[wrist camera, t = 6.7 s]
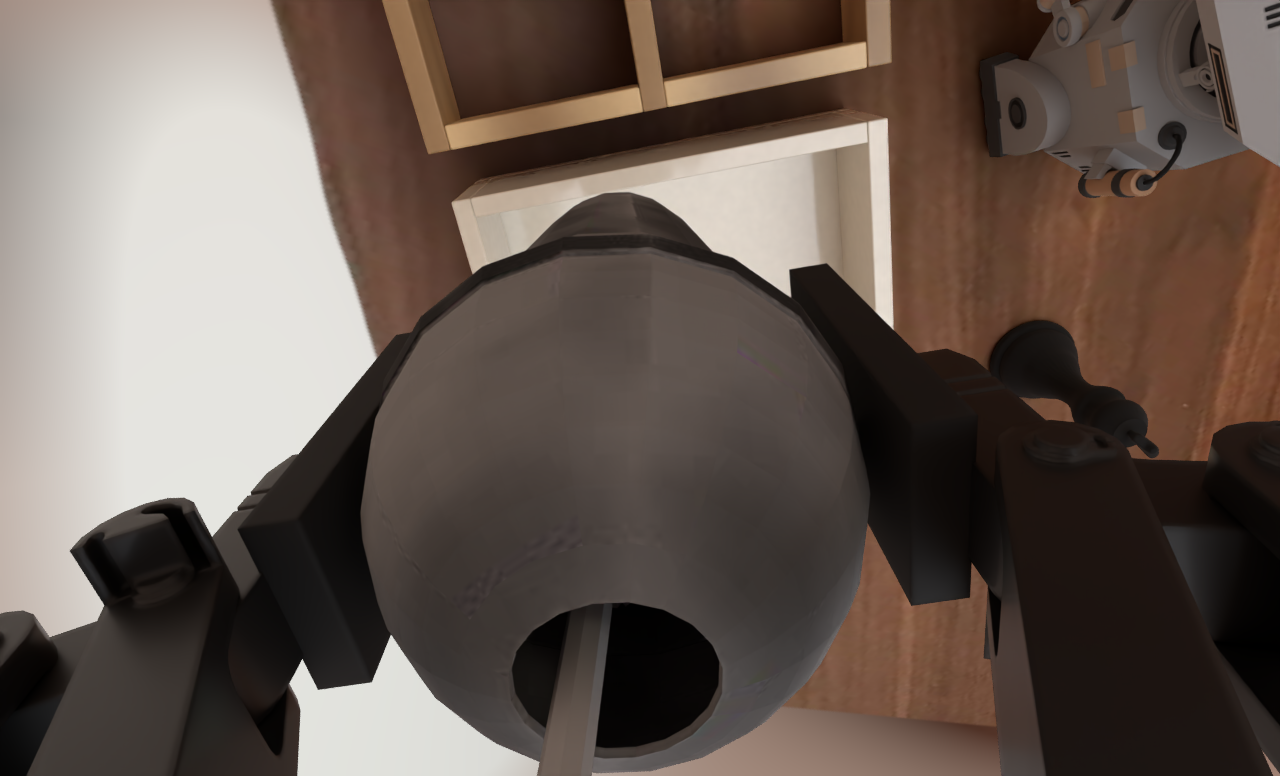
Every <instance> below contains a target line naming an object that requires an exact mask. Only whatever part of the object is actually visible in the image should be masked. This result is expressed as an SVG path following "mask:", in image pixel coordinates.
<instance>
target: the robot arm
mask: <svg viewBox="0 0 1280 776" xmlns="http://www.w3.org/2000/svg"><path fill="white" fill-rule="evenodd" d="M789 276H790V289H791V298H792V299H794V300H795V301H796V302H798V303H799V304H800V305H801V307H802V308H803V309H804V311H805V312H806V314H807V315H808V316H809V318H810V319H811V321H812V322H813V323H814V325H815V326H816V328H817V329H818V331H819V332H820V333H821V335H822V336H823V338H824V339H825V340H826V342H827V343H828V345H829V346H830V348H831V349H832V350H833V352H834V353H835V355H836V356H837V357H838V359H839V360H840V362H841V363H842V365H843V369H844V373H845V377H846V381H847V385H848V389H849V393H850V397H851V401H852V404H853V408H854V412H855V416H856V420H857V424H858V428H859V434H860V443H861V445H860V446H861V449H862V453H863V457H864V461H865V465H866V470H867V476H868V482H869V488H870V502H869V513H868V524H869V526H870V528H871V530H872V532H873V534H874V536H875V537H876V539H877V541H878V543H879V545H880V547H881V549H882V551H883V553H884V554H885V556H886V558H887V560H888V562H889V564H890V566H891V568H892V570H893V572H894V573H895V575H896V577H897V579H898V581H899V583H900V585H901V587H902V589H903V591H904V592H905V594H906V596H907V598H908V600H909V602H910V604H911V606H913V605H920V604H927V603H935V602H942V601H949V600H956V599H963V598H970V584H971V562H972V563H973V565H974V566H975V568H976V569H977V570H978V572H979V573H980V575H981V576H982V578H983V579H984V581H985V582H986V583H987V585H988V594H987V611H986V628H985V645H984V658H985V659H991V669H992V680H993V690H994V701H995V712H996V722H997V733H998V743H999V753H1000V765H1001V775H1002V776H1273V774H1272V772H1271V770H1270V768H1269V765H1268V763H1267V761H1266V759H1265V756H1264V754H1263V752H1264V753H1265V754H1266V756H1267V757H1268V758H1269V760H1270V761H1271V762H1272V764H1273V765H1274V766H1275V768H1276V769H1277V770H1278V772H1279V773H1280V421H1270V422H1245V423H1240V424H1234V425H1229V426H1226V427H1224V428H1223V429H1221V430H1219V431H1218V432H1216V433H1214V435H1213V439H1212V443H1211V448H1210V453H1209V457H1208V461H1178V460H1147V459H1135V458H1131V455H1130V453H1129V451H1128V450H1127V448H1126V447H1125V446H1124V445H1123V444H1122V443H1121V442H1120V441H1119V439H1117V438H1116V437H1114V436H1112V435H1110V434H1108V433H1106V432H1104V431H1102V430H1100V429H1098V428H1094V427H1090V426H1087V425H1083V424H1080V423H1075V422H1066V421H1056V420H1045V419H1044V418H1043V417H1041V416H1040V415H1039V414H1038V413H1037V412H1036V411H1034V410H1033V409H1032V408H1031V407H1030V406H1029V405H1027V404H1026V403H1025V402H1024V401H1023V400H1022V399H1020V398H1019V397H1018V396H1017V395H1016V394H1015V393H1013V392H1012V391H1011V390H1010V389H1006V388H1005V385H1004V384H1003V383H1002V382H1001V381H999V380H998V379H997V378H996V377H995V376H993V377H992V376H991V373H990V372H989V371H988V370H986V369H985V368H984V367H983V366H982V365H981V364H979V363H978V362H977V361H976V360H975V359H973V358H970V357H968V356H965V355H962V354H960V353H957V352H954V351H952V350H949V349H942V350H935V351H929V352H923V353H916V352H915V351H914V350H913V349H912V348H911V347H910V346H909V345H908V344H907V343H906V342H905V341H904V340H903V339H902V338H901V337H900V336H899V335H898V334H897V333H896V332H895V331H894V330H893V329H892V328H891V327H890V326H889V325H888V324H887V323H886V322H885V321H884V320H883V319H882V318H881V317H880V316H879V315H878V314H877V313H876V312H875V311H874V310H873V309H872V308H871V307H870V306H869V305H868V304H867V303H866V302H865V301H864V300H863V299H862V298H861V297H860V296H859V295H858V294H857V293H856V292H855V291H854V290H853V289H852V288H851V287H850V286H849V285H848V284H847V283H846V282H845V281H844V280H843V279H842V278H841V277H840V276H839V275H838V274H837V273H836V272H835V271H834V270H833V269H832V268H831V267H830V266H829V265H828V264H827V263H825V264H819V265H813V266H807V267H801V268H795V269H789ZM411 333H412V332H411ZM411 333H405V334H399V335H396V336H395V337H394V338H393V340H392V341H391V342H390V343H389V345H388V346H387V347H386V348H385V349H384V351H383V352H382V353H381V354H380V356H379V357H378V358H377V359H376V360H375V362H374V363H373V364H372V365H371V367H370V368H369V369H368V370H367V371H366V373H365V374H364V375H363V376H362V377H361V379H360V380H359V381H358V382H357V384H356V385H355V386H354V387H353V388H352V390H351V391H350V392H349V393H348V395H347V396H346V397H345V398H344V400H343V401H342V402H341V403H340V404H339V406H338V407H337V408H336V409H335V411H334V412H333V413H332V414H331V415H330V416H329V418H328V419H327V420H326V421H325V423H324V424H323V425H322V426H321V427H320V429H319V430H318V431H317V432H316V434H315V435H314V436H313V437H312V438H311V440H310V441H309V442H308V443H307V445H306V446H305V447H304V448H303V449H302V451H301V452H300V453H299V454H297V455H292V456H291V457H289V458H288V459H286V460H285V461H284V462H282V463H281V464H279V465H278V466H277V467H275V468H274V469H272V470H271V471H270V472H268V473H267V474H266V475H265V476H264V477H263V479H262V480H261V481H260V482H259V483H258V484H257V486H256V487H255V488H254V489H253V490H252V491H251V496H247V497H246V498H245V499H244V501H243V502H242V503H241V504H240V505H239V506H238V511H235V512H233V513H232V515H231V516H230V517H229V518H228V519H227V520H226V522H225V523H224V524H223V525H222V526H221V527H220V529H219V530H218V531H217V532H216V533H215V534H214V536H213V537H212V536H211V534H210V533H209V531H208V529H207V527H206V525H205V523H204V522H203V519H202V517H201V515H200V514H199V512H198V510H197V508H196V506H195V504H194V502H192V501H190V500H187V499H185V498H167V499H163V500H158V501H155V502H150V503H146V504H143V505H141V506H138V507H136V508H133V509H131V510H128V511H125V512H123V513H121V514H119V515H117V516H115V517H113V518H111V519H110V520H107V521H106V522H104V523H102V524H100V525H99V526H97V527H96V528H94V529H93V530H92V531H90V532H89V533H87V534H86V535H85V536H84V537H82V538H81V539H80V540H79V541H78V542H77V543H76V544H75V545H74V547H73V548H72V549H71V550H70V552H71V553H72V555H73V557H74V558H75V560H76V561H77V563H78V565H79V566H80V568H81V569H82V571H83V572H84V574H85V575H86V577H87V578H88V580H89V582H90V583H91V585H92V586H93V588H94V590H95V591H96V593H97V594H98V596H99V597H100V599H101V600H102V602H103V604H104V607H103V610H102V612H101V614H100V616H99V618H98V621H97V622H93V623H91V624H88V625H85V626H82V627H79V628H76V629H73V630H70V631H67V632H64V633H61V634H58V635H55V636H52V637H49V636H48V635H47V633H46V631H45V630H44V629H43V627H42V626H41V625H40V623H39V622H38V620H37V619H36V617H35V616H34V615H33V614H31V613H28V612H25V611H15V612H6V613H2V614H0V776H297V769H298V747H299V746H298V745H299V727H300V707H299V704H298V700H297V698H296V696H295V694H294V692H293V690H292V688H291V686H290V684H289V683H290V681H291V679H292V677H293V675H294V673H295V672H296V670H297V668H298V666H299V664H300V662H301V660H302V659H303V661H304V663H305V665H306V667H307V669H308V671H309V673H310V675H311V677H312V678H313V680H314V683H315V684H316V686H317V688H318V690H320V689H327V688H334V687H341V686H348V685H355V684H362V683H370V682H372V680H373V678H374V675H375V673H376V670H377V668H378V665H379V663H380V660H381V658H382V655H383V653H384V650H385V647H386V645H387V643H388V640H389V638H390V635H391V634H390V632H389V631H388V629H387V627H386V624H385V621H384V619H383V616H382V613H381V610H380V608H379V605H378V602H377V598H376V594H375V590H374V586H373V581H372V577H371V573H370V569H369V565H368V561H367V557H366V553H365V549H364V544H363V540H362V528H361V515H360V511H361V504H362V498H363V491H364V484H365V478H366V471H367V464H368V458H369V451H370V444H371V439H372V434H373V429H374V423H375V418H376V416H377V414H378V412H379V408H380V401H381V394H382V388H383V381H384V379H385V377H386V376H387V374H388V372H389V371H390V369H391V367H392V365H393V364H394V362H395V360H396V358H397V357H398V355H399V353H400V352H401V350H402V348H403V346H404V345H405V343H406V341H407V339H408V338H409V336H410V334H411ZM1261 749H1262V750H1261ZM1262 751H1263V752H1262Z"/></svg>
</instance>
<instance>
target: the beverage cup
mask: <svg viewBox="0 0 1280 776" xmlns="http://www.w3.org/2000/svg"><path fill="white" fill-rule="evenodd" d="M860 445H861V443H860V434H859V428H858V424H857V420H856V416H855V412H854V408H853V404H852V401H851V397H850V393H849V389H848V385H847V381H846V377H845V373H844V369H843V365H842V363H841V362H840V360H839V359H838V357H837V356H836V355H835V353H834V352H833V350H832V349H831V348H830V346H829V345H828V343H827V342H826V340H825V339H824V338H823V336H822V335H821V333H820V332H819V331H818V329H817V328H816V326H815V325H814V323H813V322H812V321H811V319H810V318H809V316H808V315H807V314H806V312H805V311H804V309H803V308H802V307H801V305H800V304H799V303H798V302H796V301H795V300H794V299H792V298H791V297H789V296H788V295H786V294H785V293H783V292H782V291H781V290H779V289H778V288H776V287H775V286H773V285H772V284H771V283H769V282H768V281H766V280H765V279H763V278H762V277H760V276H759V275H758V274H756V273H755V272H753V271H752V270H750V269H749V268H747V267H746V266H745V265H743V264H742V263H740V262H739V261H737V260H736V259H735V258H733V257H729V256H726V255H723V254H719V253H716V252H713V251H712V250H711V249H710V248H709V247H708V246H707V245H706V244H705V243H704V242H703V241H702V239H701V238H700V237H699V236H698V235H697V234H696V233H695V232H694V231H693V230H692V229H691V228H690V227H689V226H688V225H687V223H686V222H685V221H684V220H683V219H682V218H680V217H679V216H677V215H676V214H674V213H673V212H672V211H670V210H669V209H667V208H666V207H664V206H663V205H662V204H660V203H659V202H657V201H655V200H654V199H652V198H648V197H645V196H641V195H638V194H635V193H631V192H614V193H603V194H600V195H598V196H595V197H592V198H590V199H587V200H584V201H582V202H581V203H579V204H577V205H575V206H574V207H572V208H571V209H570V210H569V211H567V212H566V213H565V214H564V215H562V216H561V217H560V218H559V219H558V220H556V221H555V222H554V223H553V224H552V225H551V226H550V227H549V228H548V229H547V230H546V231H545V232H544V233H543V234H542V235H541V236H540V237H539V238H538V239H537V240H536V241H535V242H534V243H533V244H532V245H531V246H530V247H529V248H528V249H527V250H525V251H523V252H520V253H517V254H515V255H512V256H509V257H506V258H504V259H501V260H498V261H496V262H493V263H490V264H487V265H485V266H482V267H481V268H480V269H479V270H477V271H476V272H475V273H474V274H472V275H471V276H470V277H469V278H468V279H466V280H465V281H464V282H463V283H461V284H460V285H459V286H458V287H457V288H455V289H454V290H453V291H452V292H450V293H449V294H448V295H447V296H446V297H444V298H443V299H442V300H441V301H439V302H438V303H437V304H436V305H435V306H433V307H432V308H431V309H430V310H429V311H427V312H426V313H425V314H424V315H422V316H421V317H420V319H419V321H418V322H417V324H416V326H415V327H414V329H413V331H412V333H411V334H410V336H409V338H408V339H407V341H406V343H405V345H404V346H403V348H402V350H401V352H400V353H399V355H398V357H397V358H396V360H395V362H394V364H393V365H392V367H391V369H390V371H389V372H388V374H387V376H386V377H385V379H384V381H383V388H382V394H381V401H380V408H379V412H378V414H377V416H376V418H375V423H374V429H373V434H372V439H371V444H370V451H369V458H368V464H367V471H366V478H365V484H364V491H363V498H362V504H361V511H360V515H361V528H362V540H363V544H364V549H365V553H366V557H367V561H368V565H369V569H370V573H371V577H372V581H373V586H374V590H375V594H376V598H377V602H378V605H379V608H380V610H381V613H382V616H383V619H384V621H385V624H386V627H387V629H388V631H389V632H390V634H391V635H392V636H393V638H394V639H395V641H396V642H397V644H398V645H399V647H400V648H401V650H402V651H403V653H404V654H405V656H406V657H407V658H408V660H409V661H410V663H411V664H412V666H413V667H414V668H415V670H416V672H417V673H418V675H419V676H420V677H421V679H422V680H423V682H424V683H425V684H426V686H427V687H428V688H429V690H430V691H431V692H432V694H433V695H434V697H435V698H436V699H437V700H439V701H440V702H441V703H443V704H444V705H445V706H446V707H448V708H449V709H450V710H452V711H453V712H454V713H456V714H457V715H458V716H459V717H460V718H462V719H463V720H464V721H466V722H467V723H468V724H469V725H471V726H472V727H473V728H475V729H476V730H477V731H478V732H480V733H481V734H483V735H484V736H486V737H487V738H489V739H490V740H492V741H493V742H495V743H496V744H499V745H501V746H503V747H506V748H508V749H510V750H513V751H515V752H518V753H520V754H522V755H525V756H527V757H529V758H532V759H534V760H536V761H539V762H540V763H539V768H538V774H537V776H591V775H592V772H593V773H614V772H638V771H653V770H657V769H660V768H664V767H668V766H672V765H676V764H680V763H683V762H687V761H691V760H695V759H699V758H702V757H704V756H706V755H708V754H710V753H712V752H714V751H715V750H717V749H719V748H721V747H723V746H725V745H727V744H729V743H730V742H732V741H734V740H736V739H738V738H740V737H742V736H743V735H746V734H747V733H749V732H750V731H752V730H753V729H755V728H757V727H758V726H760V725H761V724H763V723H764V722H766V720H768V719H769V718H770V717H771V716H772V715H773V714H774V713H775V712H776V711H777V710H778V709H779V708H780V707H781V706H782V705H783V704H785V703H786V702H787V701H788V700H789V699H790V698H791V697H792V696H793V695H794V694H795V693H796V692H797V691H798V690H799V689H800V688H801V687H802V686H804V685H805V684H806V682H807V681H808V680H809V678H810V677H811V676H812V674H813V673H814V672H815V670H816V669H817V668H818V666H819V665H820V664H821V662H822V661H823V659H824V657H825V655H826V653H827V651H828V649H829V648H830V646H831V644H832V642H833V640H834V638H835V636H836V635H837V633H838V631H839V629H840V627H841V625H842V623H843V621H844V620H845V618H846V616H847V614H848V612H849V610H850V608H851V605H852V602H853V600H854V597H855V594H856V592H857V589H858V587H859V584H860V576H861V568H862V561H863V553H864V545H865V538H866V530H867V523H868V513H869V502H870V488H869V482H868V476H867V470H866V465H865V461H864V457H863V453H862V449H861V446H860Z"/></svg>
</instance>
